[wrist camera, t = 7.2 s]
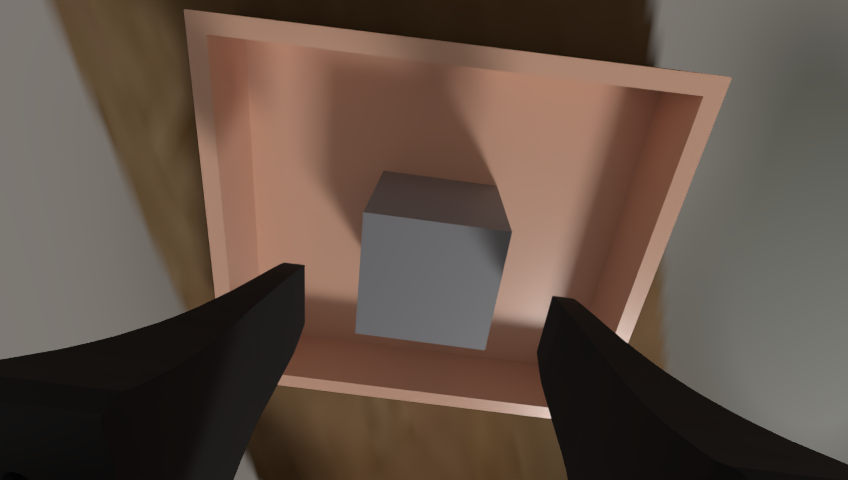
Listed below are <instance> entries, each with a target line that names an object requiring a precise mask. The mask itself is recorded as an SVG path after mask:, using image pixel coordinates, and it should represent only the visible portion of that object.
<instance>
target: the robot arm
mask: <svg viewBox="0 0 848 480" xmlns="http://www.w3.org/2000/svg"><path fill="white" fill-rule="evenodd" d="M304 325H305V265H300V264H292V263H282V264H279V265H277V266H275V267H274V268H272V269H270V270H268V271H266V272H265V273H263V274H261V275H259V276H257V277H256V278H254V279H252V280H250V281H248V282H247V283H245V284H243V285H241V286H239V287H237V288H236V289H234V290H232V291H230V292H228V293H226V294H224V295H222V296H220V297H218V298H216V299H214V300H212V301H209V302H207V303H205V304H203V305H201V306H199V307H197V308H195V309H192V310H190V311H187V312H185V313H183V314H180V315H178V316H175V317H173V318H170V319H167V320H164V321H162V322H159V323H156V324H153V325H150V326H147V327H143V328H140V329H137V330H134V331H130V332H127V333H124V334H121V335H117V336H114V337H110V338H106V339H103V340H98V341H95V342H90V343H86V344H81V345H77V346H73V347H68V348H64V349H59V350H54V351H48V352H42V353H36V354H31V355H25V356H19V357H14V358H8V359H1V360H0V480H233V479H234V476H235V474H236V472H237V469H238V466H239V464H240V461H241V459H242V457H243V454H244V452H245V449H246V447H247V444H248V442H249V440H250V437H251V435H252V432H253V430H254V428H255V426H256V424H257V422H258V420H259V418H260V416H261V414H262V412H263V410H264V408H265V406H266V405H267V403H268V401H269V399H270V397H271V395H272V394H273V392H274V390H275V388H276V386H277V384H278V382H279V381H280V379H281V377H282V375H283V373H284V371H285V369H286V367H287V366H288V364H289V362H290V360H291V358H292V356H293V354H294V352H295V349H296V347H297V344H298V342H299V339H300V336H301V333H302V330H303V328H304ZM537 359H538V366H539V373H540V379H541V384H542V388H543V392H544V395H545V398H546V402H547V405H548V409H549V412H550V415H551V419H552V422H553V425H554V429H555V432H556V435H557V439H558V442H559V445H560V449H561V452H562V456H563V460H564V464H565V468H566V472H567V477H568V480H848V465H847V464H845V463H843V462H840V461H838V460H835V459H833V458H830V457H828V456H826V455H824V454H821V453H819V452H816V451H814V450H812V449H809V448H807V447H804V446H802V445H799V444H797V443H795V442H792V441H790V440H788V439H786V438H784V437H781V436H779V435H777V434H775V433H773V432H771V431H769V430H767V429H765V428H763V427H760V426H758V425H756V424H754V423H752V422H750V421H748V420H746V419H744V418H742V417H741V416H739V415H737V414H735V413H733V412H731V411H729V410H727V409H725V408H724V407H722V406H720V405H718V404H717V403H715V402H713V401H711V400H710V399H708V398H706V397H704V396H703V395H701V394H699V393H697V392H696V391H694V390H692V389H691V388H689V387H688V386H686V385H685V384H683V383H682V382H680V381H679V380H677V379H676V378H674V377H673V376H671V375H669V374H668V373H666V372H665V371H664V370H662V369H661V368H659V367H658V366H656V365H655V364H654V363H652V362H651V361H650V360H648V359H647V358H646V357H644V356H643V355H642V354H641V353H639V352H638V351H637V350H635V349H634V348H633V347H632V346H630V345H629V344H628V343H627V342H625V341H624V340H623V339H622V338H620V337H619V336H618V335H617V334H616V333H615V332H613V331H612V330H611V329H610V328H609V327H608V326H606V325H605V324H604V323H603V322H602V321H601V320H599V319H598V318H597V317H596V316H595V315H594V314H592V313H591V312H590V311H589V310H588V309H587V308H585V307H584V306H583V305H582V304H581V303H579V302H578V301H577V300H575V299H574V298H567V297H559V296H552V299H551V303H550V306H549V310H548V313H547V317H546V321H545V324H544V328H543V331H542V335H541V338H540V342H539V346H538V349H537Z"/></svg>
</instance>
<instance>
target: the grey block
mask: <svg viewBox="0 0 848 480" xmlns="http://www.w3.org/2000/svg"><path fill="white" fill-rule="evenodd" d="M511 235H512V230H511V227H510V224H509V221H508V218H507V215H506V212H505V209H504V206H503V203H502V200H501V197H500V194H499V191H498V188H497V186H494V185H487V184H479V183H472V182H464V181H457V180H449V179H442V178H435V177H427V176H420V175H412V174H405V173H397V172H390V171H383V173H382V175H381V177H380V179H379V181H378V183H377V185H376V187H375V189H374V191H373V194H372V196H371V198H370V200H369V202H368V204H367V206H366V208H365V210H364V212H363V225H362V240H361V254H360V269H359V284H358V299H357V314H356V329H355V333H357V334H364V335H372V336H380V337H387V338H395V339H402V340H410V341H418V342H425V343H433V344H440V345H448V346H455V347H463V348H471V349H478V350H485V348H486V344H487V339H488V335H489V330H490V326H491V322H492V317H493V313H494V309H495V304H496V300H497V296H498V291H499V287H500V283H501V278H502V274H503V270H504V265H505V261H506V257H507V252H508V248H509V244H510V239H511Z"/></svg>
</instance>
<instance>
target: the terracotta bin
mask: <svg viewBox="0 0 848 480" xmlns="http://www.w3.org/2000/svg"><path fill="white" fill-rule="evenodd" d="M184 18H185V27H186V36H187V45H188V54H189V63H190V72H191V81H192V90H193V99H194V109H195V118H196V127H197V136H198V145H199V154H200V163H201V172H202V181H203V190H204V199H205V209H206V218H207V227H208V236H209V245H210V254H211V263H212V272H213V281H214V290H215V299H216V298H218V297H220V296H222V295H224V294H226V293H228V292H230V291H232V290H234V289H236V288H237V287H239V286H241V285H243V284H245V283H247V282H248V281H250V280H252V279H254V278H256V277H257V276H259V275H261V274H263V273H265V272H266V271H268V270H270V269H272V268H274V267H275V266H277V265H279V264H282V263H292V264H300V265H305V325H304V328H303V330H302V333H301V336H300V339H299V342H298V344H297V347H296V349H295V352H294V354H293V356H292V358H291V360H290V362H289V364H288V366H287V367H286V369H285V371H284V373H283V375H282V377H281V379H280V381H279V382H278V384H277V385H282V386H291V387H299V388H307V389H315V390H323V391H331V392H339V393H347V394H355V395H363V396H371V397H380V398H388V399H396V400H404V401H412V402H420V403H428V404H436V405H444V406H452V407H460V408H469V409H477V410H485V411H493V412H501V413H509V414H517V415H525V416H533V417H541V418H549V419H551V415H550V412H549V409H548V405H547V402H546V398H545V395H544V392H543V388H542V384H541V379H540V373H539V366H538V359H537V349H538V346H539V342H540V338H541V335H542V331H543V328H544V324H545V321H546V317H547V313H548V310H549V306H550V303H551V299H552V296H559V297H567V298H574V299H575V300H577V301H578V302H579V303H581V304H582V305H583V306H584V307H585V308H587V309H588V310H589V311H590V312H591V313H592V314H594V315H595V316H596V317H597V318H598V319H599V320H601V321H602V322H603V323H604V324H605V325H606V326H608V327H609V328H610V329H611V330H612V331H613V332H615V333H616V334H617V335H618V336H619V337H620V338H622V339H623V340H624V341H625V342H627V343H628V342H629V339H630V337H631V334H632V332H633V329H634V327H635V324H636V321H637V319H638V316H639V314H640V311H641V309H642V306H643V304H644V301H645V298H646V296H647V293H648V291H649V288H650V286H651V283H652V281H653V278H654V275H655V273H656V270H657V268H658V265H659V263H660V260H661V258H662V255H663V253H664V250H665V247H666V245H667V242H668V240H669V237H670V235H671V232H672V230H673V227H674V224H675V222H676V219H677V217H678V214H679V211H680V209H681V207H682V204H683V201H684V199H685V196H686V194H687V191H688V189H689V186H690V184H691V181H692V178H693V176H694V173H695V171H696V168H697V165H698V163H699V161H700V158H701V155H702V153H703V150H704V148H705V145H706V143H707V140H708V137H709V135H710V132H711V130H712V127H713V125H714V122H715V120H716V117H717V115H718V112H719V109H720V107H721V104H722V102H723V99H724V97H725V94H726V92H727V89H728V87H729V84H730V81H731V79H732V77H725V76H718V75H711V74H703V73H696V72H689V71H681V70H673V69H665V68H657V67H649V66H641V65H633V64H625V63H617V62H609V61H601V60H593V59H585V58H577V57H569V56H561V55H553V54H545V53H537V52H529V51H521V50H513V49H505V48H497V47H489V46H481V45H473V44H465V43H457V42H449V41H441V40H433V39H425V38H417V37H409V36H401V35H393V34H385V33H377V32H369V31H361V30H353V29H345V28H337V27H329V26H321V25H313V24H304V23H296V22H288V21H280V20H272V19H264V18H256V17H248V16H240V15H232V14H224V13H215V12H206V11H197V10H188V9H184ZM383 171H390V172H397V173H405V174H412V175H420V176H427V177H435V178H442V179H449V180H457V181H464V182H472V183H479V184H487V185H494V186H497V188H498V191H499V194H500V197H501V200H502V203H503V206H504V209H505V212H506V215H507V218H508V221H509V224H510V227H511V230H512V235H511V239H510V244H509V248H508V252H507V257H506V261H505V265H504V270H503V274H502V278H501V283H500V287H499V291H498V296H497V300H496V304H495V309H494V313H493V317H492V322H491V326H490V330H489V335H488V339H487V344H486V348H485V350H478V349H471V348H463V347H455V346H448V345H440V344H433V343H425V342H418V341H410V340H402V339H395V338H387V337H380V336H372V335H364V334H357V333H355V329H356V314H357V299H358V284H359V269H360V254H361V240H362V225H363V212H364V210H365V208H366V206H367V204H368V202H369V200H370V198H371V196H372V194H373V191H374V189H375V187H376V185H377V183H378V181H379V179H380V177H381V175H382V173H383Z"/></svg>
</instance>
